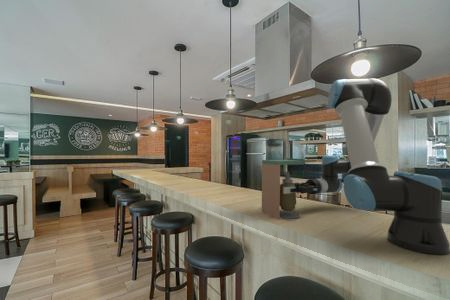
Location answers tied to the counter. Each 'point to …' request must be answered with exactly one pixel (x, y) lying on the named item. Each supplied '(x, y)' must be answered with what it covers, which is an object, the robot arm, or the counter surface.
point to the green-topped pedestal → (273, 185)
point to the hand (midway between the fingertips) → (278, 189)
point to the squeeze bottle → (287, 195)
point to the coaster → (289, 215)
